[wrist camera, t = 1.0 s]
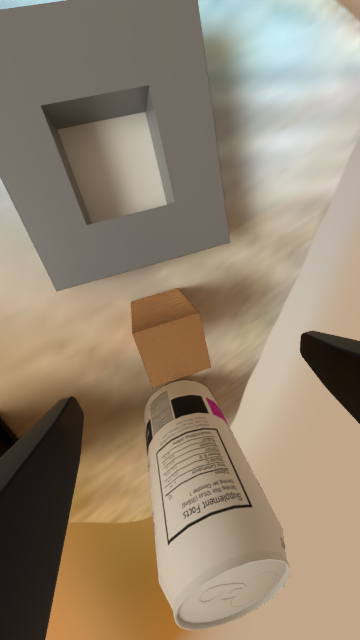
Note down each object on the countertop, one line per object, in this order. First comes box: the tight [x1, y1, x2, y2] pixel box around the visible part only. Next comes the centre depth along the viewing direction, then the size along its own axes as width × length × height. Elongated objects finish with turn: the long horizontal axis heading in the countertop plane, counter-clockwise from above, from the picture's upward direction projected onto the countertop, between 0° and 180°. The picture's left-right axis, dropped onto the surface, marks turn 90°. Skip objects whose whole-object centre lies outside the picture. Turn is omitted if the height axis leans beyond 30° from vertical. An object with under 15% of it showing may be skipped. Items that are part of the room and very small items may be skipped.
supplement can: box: [144, 380, 290, 630], centre depth 19 cm, size 8×8×15 cm
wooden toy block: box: [131, 288, 211, 388], centre depth 18 cm, size 4×4×7 cm
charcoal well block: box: [0, 0, 230, 291], centre depth 15 cm, size 13×13×4 cm
